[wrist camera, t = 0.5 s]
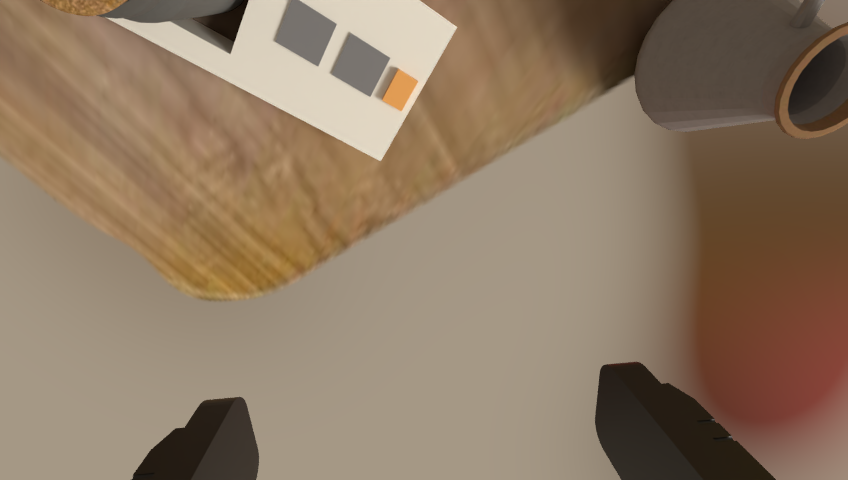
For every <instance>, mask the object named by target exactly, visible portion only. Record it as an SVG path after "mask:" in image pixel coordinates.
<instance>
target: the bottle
mask: <svg viewBox="0 0 848 480" xmlns="http://www.w3.org/2000/svg"><path fill="white" fill-rule="evenodd" d="M41 1H42V2H44V3H46V4H48V5H50V6H52V7H54V8H56V9H58V10H61V11H64V12H67V13H71V14H76V15H82V16H94V15H97V16H101V17H106V18H115V19H117V18H124V19H127V20H131V21H135V22H139V23H161V22H168V21H175V20H182V19H189V18H196V17H202V16H208V15H214V14H219V13H224V12H228V11H230V10H233V9H235V8H236V7H237V6H239V5H240V4H241V3H242V2H243V1H244V0H41Z"/></svg>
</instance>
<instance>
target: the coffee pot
mask: <svg viewBox="0 0 848 480" xmlns="http://www.w3.org/2000/svg"><path fill="white" fill-rule="evenodd" d="M824 1H825V0H804V1H803V3H801V2H800V1H799V0H673V1H672V2H671V3H670V4H669V5H668V6H667V7H666V8H665V9H664V10H663V12H662V13H661V14H660V15H659V16H658V17H657V18H656V20H655V22H654V23H653V25H652V26H651V28H650V30H649V31H648V33H647V34H646V36H645V38H644V41H643V43H642V46H641V49H640V51H639V54H638V56H637V63H636V69H635V85H636V93H637V96H638V99H639V101H640V104H641V106H642V108H643V111H644V112H645V113H646V114H647V115H648V116H649V117H650V118H651V120H652V121H653V122H654V123H656V124H658V125H660V126H662V127H664V128H666V129H668V130H676V131H685V132H687V131H695V130H702V129H710V128H717V127H725V126H733V125H740V124H747V123H755V122H763V121H770V120H776V123H777V124H778V126H779V127H780V129H781V130H782V131H783V132H784V133H786V134H787V135H789V136H791V137H794V138H802V139H808V138H814V137H820V136H823V135H825V134H828V133H831V132H833V131H835V130H837V129H838V128H840V127H842V126H844V125H845V124H847V123H848V22H847V23H845V24H842V25H840V26H837V27H835V28H831V27H830V26H829V25H828V24H826V23H825V22H824V21H823V20H822V19H820V18H819V17H818V16H817V13H818V11H819V10H820V8H821V6H822V4H823V3H824Z"/></svg>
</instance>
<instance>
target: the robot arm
mask: <svg viewBox="0 0 848 480" xmlns="http://www.w3.org/2000/svg"><path fill="white" fill-rule="evenodd" d="M595 425H596V431H597V435H598V438H599V441H600V443H601V445H602V448H603V450H604V451H605V453H606V455H607V456H608V458H609V459H610V461H611V463H612V465H613V466H614V468H615V470H616V471H617V473H618V475H619V476H620V478H621V480H776V479H775V478H774V477H773V476H772V475H771V474H770V473H769V472H768V471H767V470H766V469H765V468H764V467H763V466H762V465H761V464H759V462H758V461H757V460H756V459H754V458H753V456H752V455H750V454H749V453H748V452H747V451H746V450H745V449H744V448H743V447H742V446H741V445H740V444H739V443H738V442H737V441H734V440H733V439H732V436H731V435H730V434H729V433H728V432H727V431H726V430H725V429H724V428H723V427H722V426H721V425H720V424H719V423H716V422H715V419H714V418H713V417H712V416H711V415H710V414H709V413H708V412H707V411H706V410H705V409H704V408H703V407H702V406H701V405H700V404H699V403H698V402H697V401H696V400H695V399H694V398H692V397H690V396H689V395H687V394H685V393H684V392H682V391H680V390H679V389H677V388H675V387H674V386H672V385H670V384H669V383H666V384H661V383H660V382H659V381H658V380H657V379H656V378H655V377H654V376H653V374H652V373H651V372H650V371H649V370H648V369H647V368H646V367H645V366H644V365H643V364H641V363H639V362H628V363H618V364H607V365H603V366H602V368H601V370H600V376H599V386H598V396H597V406H596V415H595ZM258 465H259V453H258V448H257V444H256V440H255V436H254V432H253V428H252V424H251V420H250V417H249V412H248V408H247V405H246V402H245V400H244V399H243V398H241V397H235V398H224V399H214V400H206V401H203V402H202V403H201V404H200V405H199V407H198V408H197V410H196V411H195V413H194V414H193V416H192V417H191V419H190V420H189V422H188V423H187V425H186V426H185V428H176V429H175V430H173V431H172V432H171V433H170V434H169V435H168V436H166V437H165V438H164V439H163V440H162V441H161V442H160V443H159V444H157V445H156V446H155V447H154V448H153V449H151V451H150V452H149V453H148V455H147V456H146V457H145V459H144V460H143V462H142V463H141V465H140V466H139V467H138V469H137V470H136V472H135V473H134V474H133V479H132V480H256V478H257V473H258Z"/></svg>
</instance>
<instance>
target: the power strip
mask: <svg viewBox="0 0 848 480" xmlns="http://www.w3.org/2000/svg"><path fill="white" fill-rule="evenodd" d="M105 18H106V17H105ZM107 19H109V20H111V21H113V22H115V23H117V24H119V25H121V26H123V27H125V28H126V29H128V30H130V31H132V32H134V33H136V34H138V35H140V36H142V37H144V38H146V39H148V40H149V41H151V42H153V43H155V44H157V45H159V46H161V47H163V48H165V49H167V50H169V51H171V52H172V53H174V54H176V55H178V56H180V57H182V58H184V59H186V60H188V61H190V62H192V63H194V64H195V65H197V66H199V67H201V68H203V69H205V70H207V71H209V72H211V73H213V74H215V75H217V76H218V77H220V78H222V79H224V80H226V81H228V82H230V83H232V84H234V85H236V86H238V87H240V88H241V89H243V90H245V91H247V92H249V93H251V94H253V95H255V96H257V97H259V98H261V99H262V100H264V101H266V102H268V103H270V104H272V105H274V106H276V107H278V108H280V109H282V110H284V111H285V112H287V113H289V114H291V115H293V116H295V117H297V118H299V119H301V120H303V121H305V122H307V123H308V124H310V125H312V126H314V127H316V128H318V129H320V130H322V131H324V132H326V133H328V134H330V135H331V136H333V137H335V138H337V139H339V140H341V141H343V142H345V143H347V144H349V145H351V146H353V147H354V148H356V149H358V150H360V151H362V152H364V153H366V154H368V155H370V156H372V157H374V158H376V159H377V160H379V161H381V160H382V158H383V156H384V154H385V153H386V151H387V149H388V147H389V146H390V144H391V142H392V140H393V139H394V137H395V135H396V133H397V132H398V130H399V128H400V126H401V125H402V123H403V121H404V119H405V118H406V116H407V114H408V112H409V111H410V109H411V107H412V105H413V104H414V102H415V100H416V98H417V97H418V95H419V93H420V91H421V90H422V88H423V86H424V84H425V83H426V81H427V79H428V77H429V76H430V74H431V72H432V70H433V69H434V67H435V65H436V63H437V62H438V60H439V58H440V56H441V55H442V53H443V51H444V49H445V48H446V46H447V44H448V42H449V41H450V39H451V37H452V35H453V34H454V32H455V30H456V28H457V27H456V26H455V25H453V24H452V23H450V22H449V21H448V20H446V19H445V18H443V17H442V16H441V15H439V14H438V13H436V12H435V11H434V10H432V9H431V8H429V7H428V6H427V5H425V4H424V3H422V2H421V1H420V0H249V1H248V4H247V7H246V10H245V13H244V16H243V19H242V22H241V25H240V28H239V31H238V34H237V36H236V39H235V42H233V41H231V40H230V39H228V38H226V37H224V36H222V35H221V34H219V33H217V32H215V31H213V30H212V29H210V28H208V27H206V26H205V25H203V24H201V23H199V22H197V21H196V20H194V19H192V18H189V19H182V20H175V21H168V22H161V23H139V22H135V21H131V20H127V19H124V18H117V19H115V18H107Z"/></svg>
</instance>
